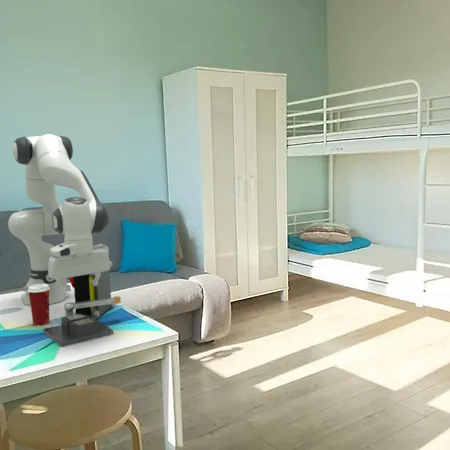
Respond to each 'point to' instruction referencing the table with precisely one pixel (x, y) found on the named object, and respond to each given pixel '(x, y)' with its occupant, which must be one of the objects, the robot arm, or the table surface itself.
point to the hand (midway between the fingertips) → (81, 288)
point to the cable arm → (91, 303)
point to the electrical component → (92, 292)
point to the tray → (71, 339)
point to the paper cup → (39, 303)
